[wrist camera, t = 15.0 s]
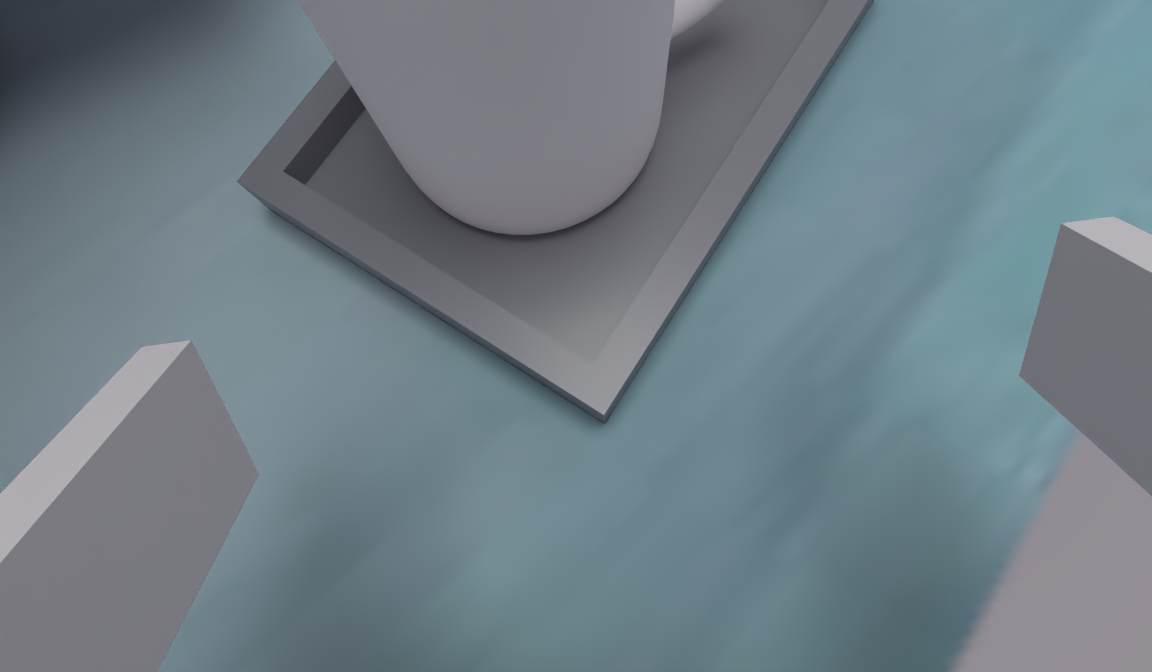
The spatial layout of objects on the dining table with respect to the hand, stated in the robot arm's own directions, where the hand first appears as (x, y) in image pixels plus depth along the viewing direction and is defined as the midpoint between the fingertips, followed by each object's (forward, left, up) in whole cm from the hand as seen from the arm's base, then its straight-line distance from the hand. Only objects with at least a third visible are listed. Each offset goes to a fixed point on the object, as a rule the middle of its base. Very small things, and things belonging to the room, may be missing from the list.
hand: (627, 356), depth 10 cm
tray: (-7, +8, -9) cm, 14 cm away
